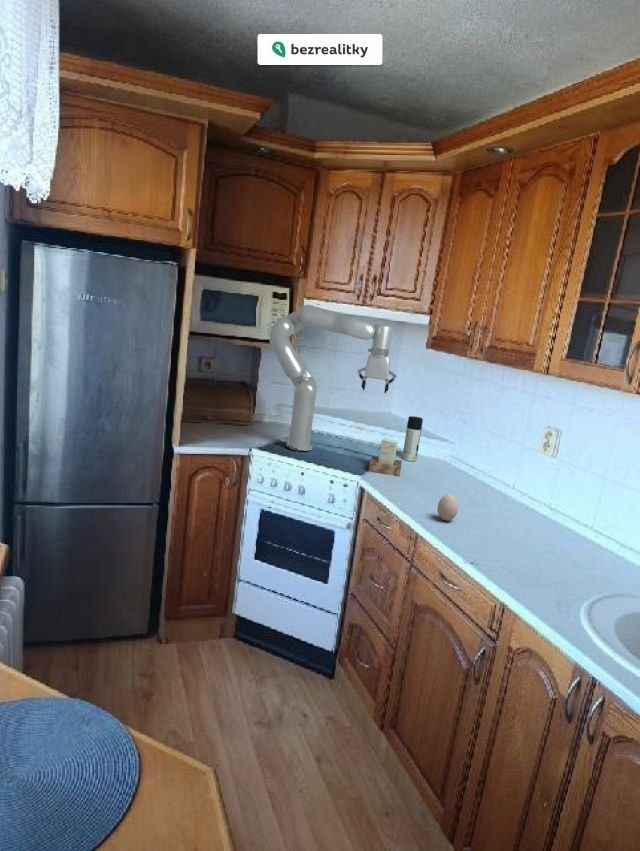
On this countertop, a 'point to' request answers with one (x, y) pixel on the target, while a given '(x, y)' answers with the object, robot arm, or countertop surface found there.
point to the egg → (447, 507)
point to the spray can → (412, 438)
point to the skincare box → (388, 451)
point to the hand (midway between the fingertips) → (374, 391)
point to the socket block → (385, 467)
